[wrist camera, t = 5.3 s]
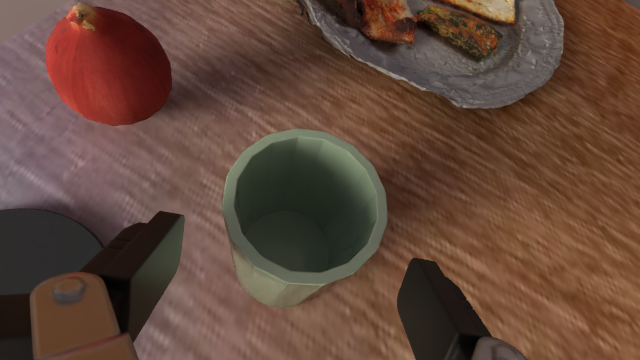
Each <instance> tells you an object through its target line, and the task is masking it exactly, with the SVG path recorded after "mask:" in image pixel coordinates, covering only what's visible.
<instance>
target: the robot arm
mask: <svg viewBox="0 0 640 360" xmlns="http://www.w3.org/2000/svg"><path fill="white" fill-rule="evenodd" d="M184 221H185V219H184V215H180V214H175V213H170V212H164V211H159V212H158V213H157V214H156V215H155V216H154V217H153V218H152V219H151V220H150V221H149V222H148V223H147V224H146V223H140V222H139V223H136V224H134V225H132V226H129V227H127V228H125V229H123V230H122V231H121V232H120V233H119V234H118V235H117V236H116V237H115V239H114V240H112V241H111V242H109V243H108V244H107V246H106V247H104V248H103V249H102V250H101V251H100V252H99V253H98V254H97V255H96V256H94V257H93V258H92V259H91V260H90V261H89V262H88V263H87V264H86V265H85V266H84V267H83V268H82V269H81V270H79V271H78V272H72V273H65V274H61V275H57V276H54V277H52V278H49V279H47V280H45V281H43V282H42V283H40V284H39V285H38V286H36V287H35V288H34V290H33V291H32V292H31V293H27V294H12V295H0V360H138V357H137V354H136V351H135V348H134V345H133V342H134V341H135V339H136V337H137V336H138V334H139V332H140V331H141V329H142V328H143V326H144V324H145V323H146V321H147V319H148V318H149V316H150V314H151V313H152V311H153V309H154V308H155V306H156V305H157V303H158V301H159V300H160V298H161V296H162V295H163V293H164V291H165V290H166V288H167V286H168V285H169V283H170V282H171V280H172V278H173V277H174V275H175V273H176V271H177V268H178V265H179V262H180V257H181V249H182V240H183V231H184ZM472 308H473V307H472V306H471V304H470V303H469V301H467V300H466V297H465V296H464V294H463V293H462V291H461V290H460V288H459V287H458V286H457V285H455V284H454V283H453V282H452V281H451V280H450V279H449V278H447V277H445V276H444V274H443V273H442V271H441V269H440V268H439V266H438V265H437V263H436V262H434V261H430V260H424V259H419V258H413V259H412V260H411V261H410V263H409V266H408V268H407V271H406V274H405V277H404V279H403V282H402V285H401V288H400V290H399V293H398V298H397V309H398V312H399V315H400V318H401V321H402V323H403V326H404V329H405V331H406V334H407V337H408V339H409V342H410V345H411V348H412V350H413V353H414V356H415V358H416V360H527V359H526V357H525V356H524V355H523V354H522V353H521V352H520V351H518V350H517V349H516V348H515V347H513V346H512V345H510V344H508V343H507V342H505V341H503V340H500V339H498V338H494V337H492V335H491V334H490V332H489V331H488V330H487V328H486V327H485V325H484V324H483V322H482V321H481V319H480V318H479V316H478V315H477V313H476V312H475V310H473V309H472Z"/></svg>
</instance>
